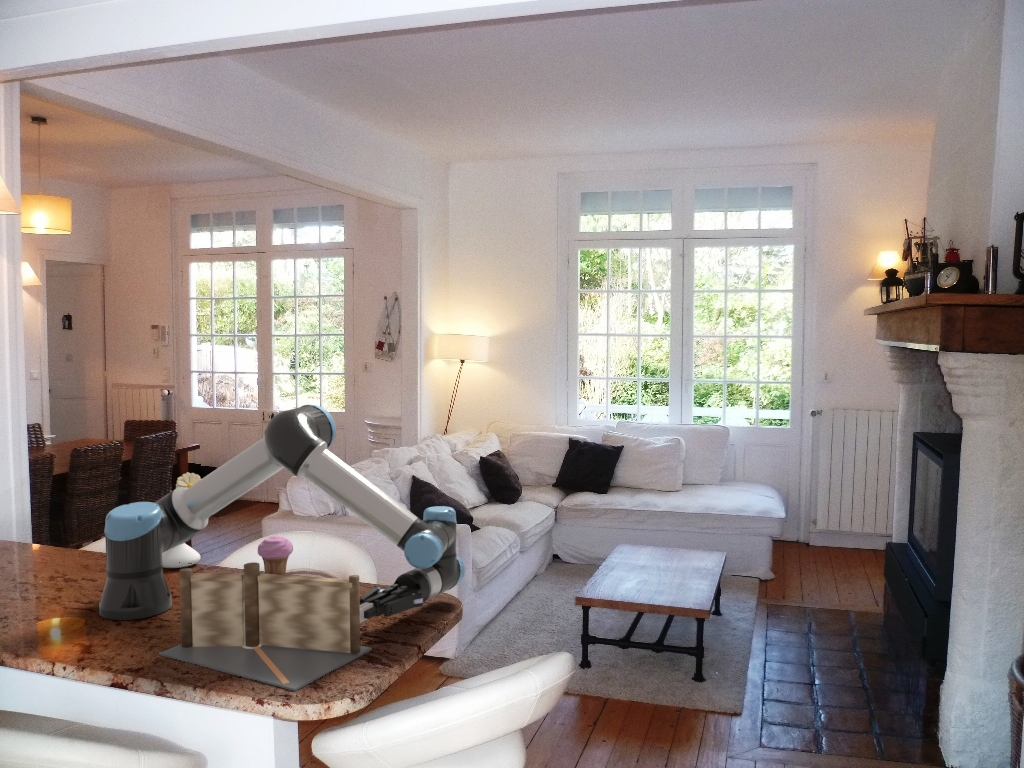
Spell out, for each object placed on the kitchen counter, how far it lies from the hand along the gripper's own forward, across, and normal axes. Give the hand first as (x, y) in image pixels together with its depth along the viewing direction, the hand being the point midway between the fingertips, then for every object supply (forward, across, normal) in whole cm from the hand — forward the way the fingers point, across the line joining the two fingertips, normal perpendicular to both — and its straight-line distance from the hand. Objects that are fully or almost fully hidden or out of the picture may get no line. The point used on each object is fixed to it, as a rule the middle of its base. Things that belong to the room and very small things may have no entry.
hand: (349, 618), depth 170 cm
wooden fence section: (+10, +25, -6) cm, 27 cm away
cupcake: (-34, +51, -7) cm, 61 cm away
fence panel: (+3, +7, -6) cm, 10 cm away
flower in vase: (-28, +79, -7) cm, 84 cm away
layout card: (+8, +15, -7) cm, 18 cm away
